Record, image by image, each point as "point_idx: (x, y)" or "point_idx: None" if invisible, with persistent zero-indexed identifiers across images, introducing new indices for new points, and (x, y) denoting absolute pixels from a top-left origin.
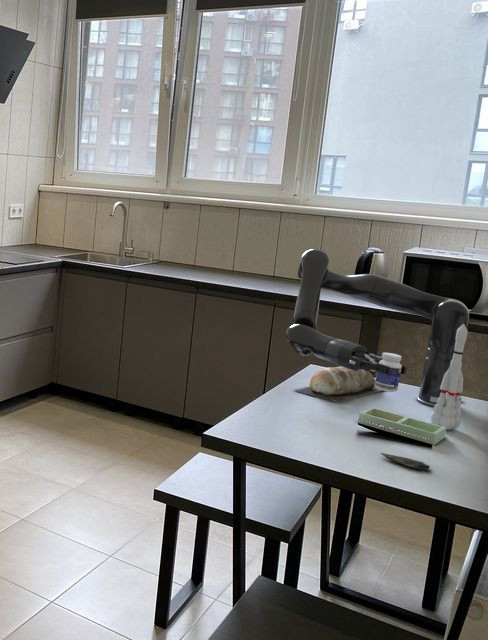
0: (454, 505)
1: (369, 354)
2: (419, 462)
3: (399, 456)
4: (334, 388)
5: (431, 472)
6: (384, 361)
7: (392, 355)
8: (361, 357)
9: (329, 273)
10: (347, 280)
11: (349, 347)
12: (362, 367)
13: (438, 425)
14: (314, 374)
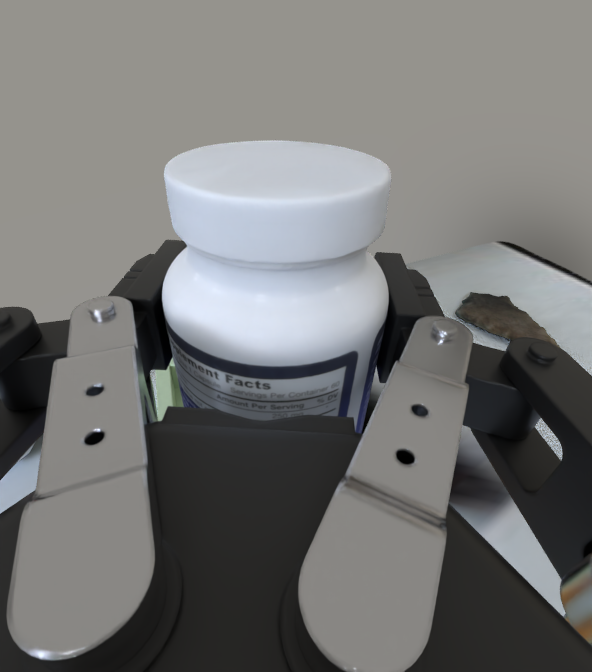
0: (524, 252)
1: (140, 603)
2: (481, 304)
3: (503, 334)
4: None
5: (464, 299)
6: (365, 264)
7: (328, 154)
8: (470, 641)
9: None
10: None
11: None
12: (542, 478)
13: (160, 375)
14: None
